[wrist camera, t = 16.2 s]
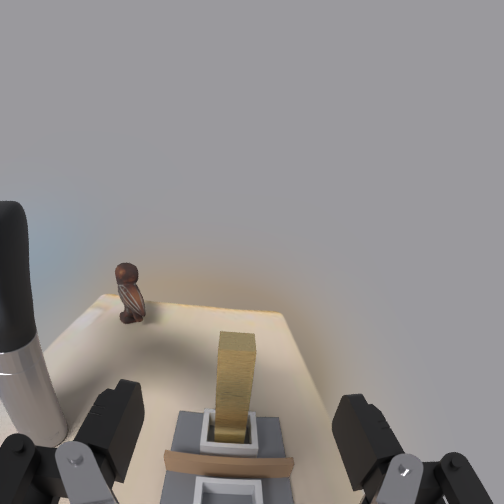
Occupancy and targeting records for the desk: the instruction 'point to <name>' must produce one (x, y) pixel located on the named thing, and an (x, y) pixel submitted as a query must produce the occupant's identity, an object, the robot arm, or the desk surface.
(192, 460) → the plate
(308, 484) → the desk surface
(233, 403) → the post
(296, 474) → the desk surface
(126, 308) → the figurine
